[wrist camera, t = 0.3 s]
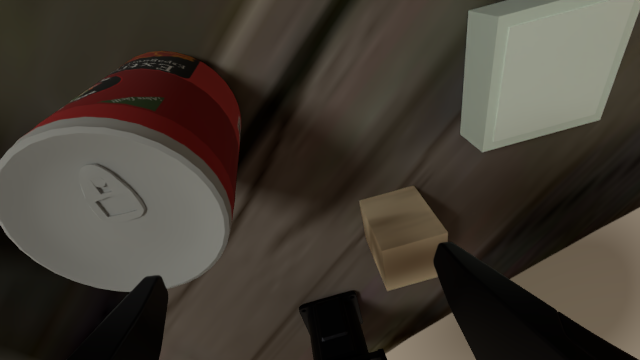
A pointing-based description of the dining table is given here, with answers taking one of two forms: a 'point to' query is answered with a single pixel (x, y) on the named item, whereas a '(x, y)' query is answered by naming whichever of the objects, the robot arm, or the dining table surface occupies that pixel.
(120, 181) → the canned food
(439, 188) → the dining table surface
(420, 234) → the block
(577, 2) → the base
